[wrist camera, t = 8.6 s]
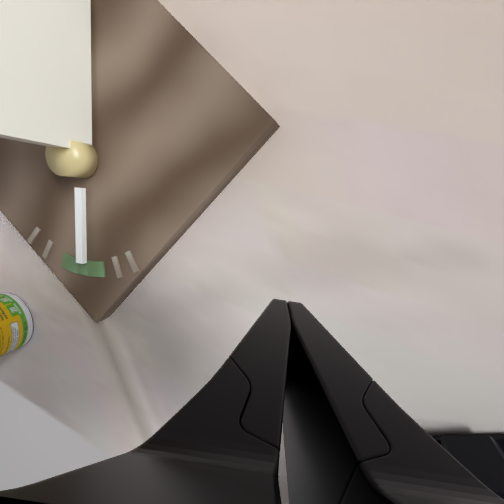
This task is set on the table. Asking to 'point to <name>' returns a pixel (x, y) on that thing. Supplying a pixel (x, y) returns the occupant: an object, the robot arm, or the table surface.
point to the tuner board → (135, 154)
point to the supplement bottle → (14, 323)
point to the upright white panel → (50, 88)
